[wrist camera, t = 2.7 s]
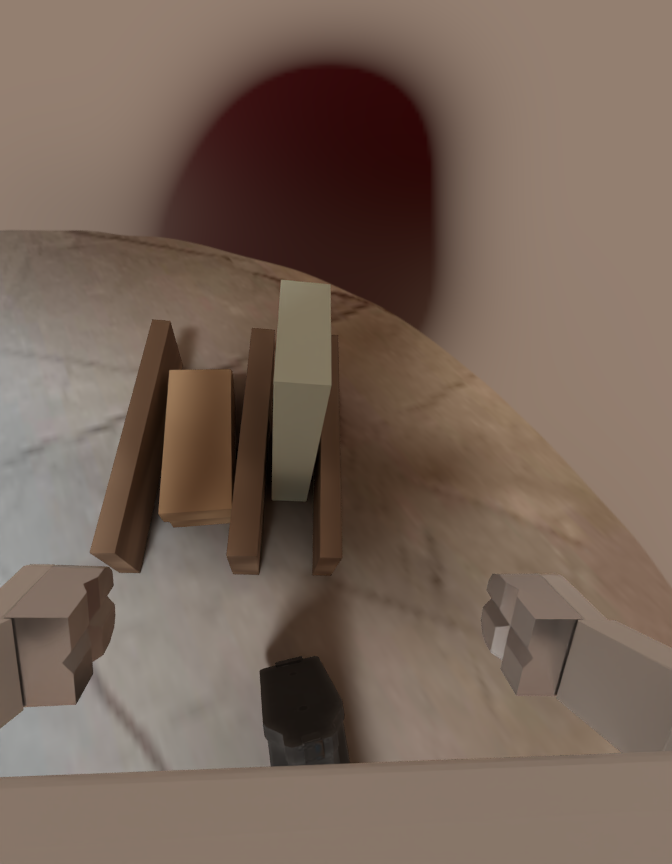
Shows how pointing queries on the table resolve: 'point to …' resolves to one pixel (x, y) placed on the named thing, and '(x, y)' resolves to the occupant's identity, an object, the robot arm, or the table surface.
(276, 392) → the tall panel
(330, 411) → the walnut rack
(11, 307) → the table surface
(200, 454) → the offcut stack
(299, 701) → the magazine
